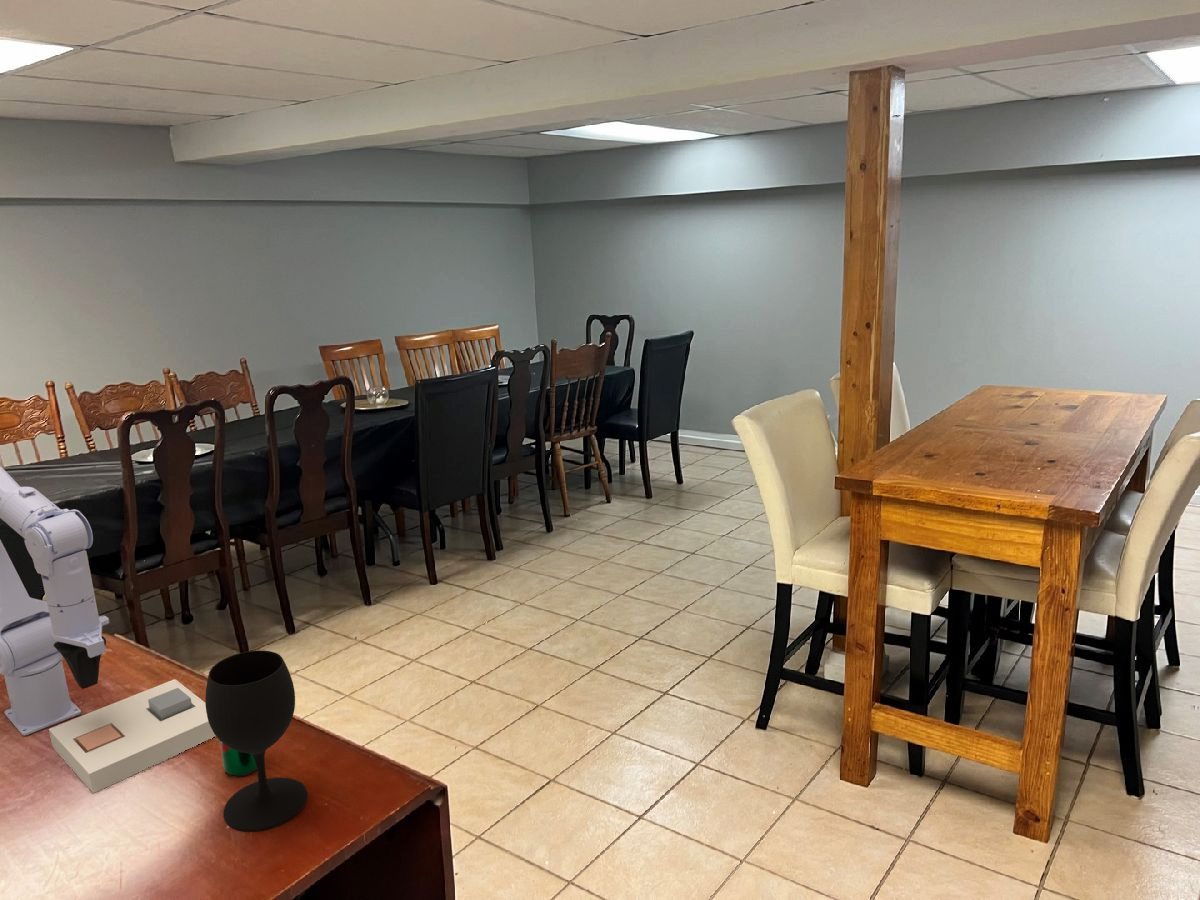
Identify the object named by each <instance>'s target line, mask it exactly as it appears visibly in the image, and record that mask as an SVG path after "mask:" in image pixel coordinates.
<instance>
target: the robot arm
mask: <svg viewBox="0 0 1200 900" xmlns="http://www.w3.org/2000/svg"><path fill="white" fill-rule="evenodd" d="M0 519H1V520H2V521H3V522H5V524H7V525H8V526H9V527H10V528H11V529H12V530H14V532H16V533H17V534H19V536H21V537H22V538H23V540H24V541H23V542H24V545H25V547H26V550H27V552H28V554H29V556H30V557H31V558H32V562H33V565H34V569H35V570H36V572H37V573H36V574H39V575H41V576H40V577H41V581H42V586H43V590H44V595H45V600H41V599H38V598H33V597H30V595H29V593H28V591H27V589H26V588H25V586H24V584H23V581H22V580H21V578H20V575H19V574H18V572H17V570H16V568H15V566H14V564H13V562H12V559H11V558H10V556H9V554H8V552H7V550H6V547H5V546H4V543H3V542H2V540H1V539H0V675H1V676H4V682H5V686H6V690H7V695H8V699H9V702H10V703H9V704H10V708H8V709H5V711H4V712H3V713H4V715H5V716H6V718H7V719H8V720H9V721H10V722H11V723H12V724H13V725H14V727H15V729H16V730H17V731H18V732H19V733H20V734H21V735H22V736H28V735H30V734H33V733H35V732H38V731H41V730H43V729H47V728H48V727H52V726H53V725H56V724H59V723H61V722H63V721H66V720H68V719H71V718H74V717H76V716H79V715H81V713H82V710H81V709H80V708H79V707H78V706H77V705H76V704H75V702H73V701H72V700H71V698H70V693H69V689H68V684H67V680H66V674H65V671H64V665H63V659H64V660H65V662H66V663H67V666H68V667H69V670H70V672H71V674H72V676H73V678H74V680H75V682H76V684H77V685H78V687H79V688H81V690H84V689H88V688H90V687H93V686H95V685H98V682H99V674H100V662H101V659H102V655H103V654H106V652H107V651H106V650H107V649H106V645H107V639H106V638H105V637H104V636H103V626H106V625H109V624H110V619H109V617H108V616H106V615H101V616H100V615H99V611H98V606H97V601H96V596H95V595H96V593H95V590H94V585H93V578H92V574H91V569H90V565H89V557H88V553H87V550H88V549H90V548H91V547H92V546H93V542H94V535H93V530H92V527H91V525H90V523H89V521H88V519H87V518H86V517H85V516H84V514H83V513H82V512H81V511H80V510H78V509H69V508H63V509H61V508H60V507H59V506H58V505H56V504H55V503H54V502H52V501H51V500H50V499H49V498H47V497H46V496H45V495H44V494H42V493H41V492H40V491H39V490H37V489H36V488H35V487H32V486H20V484H18V483H17V481H16V480H15V479H14V478H13V477H12V476H11V475H10V474H9V473H8V472H7V471H6V470H5V469H4V468H3V462H2V457H1V455H0ZM17 625H18V626H17Z"/></svg>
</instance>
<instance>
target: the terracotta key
mask: <svg viewBox="0 0 1200 900" xmlns="http://www.w3.org/2000/svg"><path fill="white" fill-rule="evenodd" d="M120 738H122V736H121V735H120V734H119V733H118V732H117V731H116V730H115V729H114V728H113V727H112V726H111V725H107V726H105V727H103V728H100V729H98V730H95V731H93V732H90V733H88V734H85V735H83V736H81V737H78V738H77V743H78V745H79V746H80V747H81V749H82V750H83V751H84V752H85V753H87V752H90V751H92V750H95V749H97V748H99V747H102V746H104V745H106V744H109V743H111V742H113V741H116V740H118V739H120Z"/></svg>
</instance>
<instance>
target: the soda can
mask: <svg viewBox="0 0 1200 900" xmlns="http://www.w3.org/2000/svg"><path fill="white" fill-rule="evenodd" d="M218 740H219V739H218ZM219 747H220V753H221V759H222V766H223V769H224V770H223V771H225V772H226V773H227V774H229V775H231V776H233V777H240V776H241V777H242V776H245V775H248V774H251V773H253V772H254V771H257V768H256V764H255V760H254V757H253V755H252V754H249V753H243V752H240V751H237V750H234V749H232V748H230V747H228V746H226V745H225V744H224V743H222V742H221V741H220V740H219Z"/></svg>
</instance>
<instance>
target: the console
mask: <svg viewBox="0 0 1200 900" xmlns="http://www.w3.org/2000/svg"><path fill="white" fill-rule="evenodd" d="M176 688H179V689H180V690H181V691H183V692H184V693H185V694H186V695H188V696H189V697H190V698H191V704H192V708H191V709H189V710H186V711H184V712H182V713H179V714H177V715H175V716H172V717H170V718H167V719H165V720H163V721H160V720H159V719H158V718H157V717H156V716H155V715H153V714H152V713H151V712H150V708H149V702H148V700H149V699H151V698H154V697H156V696H159V695H161V694H164V693H166V692H169V691H171V690H173V689H176ZM107 725H111V726H112V727H113V728H114V729H115V730H116V731H117V732H118V733H119V734H120V735H121V736H122V738H120V739H118V740H116V741H113V742H111V743H109V744H106V745H104V746H102V747H99V748H97V749H95V750H92V751H90V752H87V753H85V752H84V751H83V750H82V749H81V747H80V746H79V745H78V743H77V738H78V737H81V736H83V735H85V734H88V733H90V732H93V731H95V730H98V729H100V728H103V727H105V726H107ZM48 732H49V733H48V734H49V737H50V741H51V747H52V749H54V751H55V752H56V753H57V754H58V755H59V756H60V757H61V759H62V760H63V759H64V760H65V761H64V762H65V763H66V764H67V765H68V766H69V767H71V768H70V769H71V770H72V769H73V770H72V771H73V772H74V773H75V775H76V776H77V777H78V778H79V779H80V780H81V781H82V782H83V784H84V785H85V786H86V787H87V788H88V790H89V791H90V792H91V793H92V794H94V793H98V792H99V791H101V790H103V789H106V788H107V787H110V786H113V785H115V784H117V783H119V782H121V781H123V780H125V779H127V778H130V777H132V776H134V775H136V774H139V773H140V772H142V770H143V771H145V770H148V769H149V768H148V767H150V768H152V767H154V766H156V765H158V764H160V763H163V762H165V761H167V760H169V759H171V758H173V756H174V757H176V756H178V755H180V754H182V753H185V752H186V751H185V750H187V749H189V748H191V749H193V748H195V747H197V746H196V745H198V744H200V745H201V743H202V742H204V741H206V740H208V739H211V738H213V737H214V736H216V735H215V734H214V732H213V730H212V729H211V727H210V724H209V721H208V718H207V713H206V704H205V701H204V700H202V699H201V698H200V697H199V696H197V694H195V693H194V692H192V691H191V690H190V689H188V688H187V687H186V686H184V684H182V683H181V682H179V680H177V679H176V678H174V679H172V680H170V681H167V682H164V683H161V684H159V685H156V686H154V687H151V688H149V689H146V690H143V691H141V692H138V693H137V694H134V695H132V696H129V697H128V696H127V697H126V698H124V699H121V700H118V701H116V702H114V703H111V704H109V705H106V706H103V707H101V708H98V709H96V710H93V711H91V712H88V713H86V714H83V715H81V716H78V717H75V718H73V719H71V720H68V721H65V722H63V723H60V724H57V725H55V726H51V728H49V729H48ZM213 739H214V738H213ZM211 740H212V739H211ZM206 742H207V741H206ZM204 743H205V742H204ZM202 744H203V743H202ZM194 746H195V747H194ZM198 746H199V745H198ZM192 747H193V748H192ZM189 750H190V749H189ZM184 751H185V752H184ZM187 751H188V750H187ZM181 752H182V753H181ZM179 753H180V754H179ZM168 758H169V759H168ZM162 761H163V762H162ZM153 765H154V766H153ZM138 772H139V773H138Z"/></svg>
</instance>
